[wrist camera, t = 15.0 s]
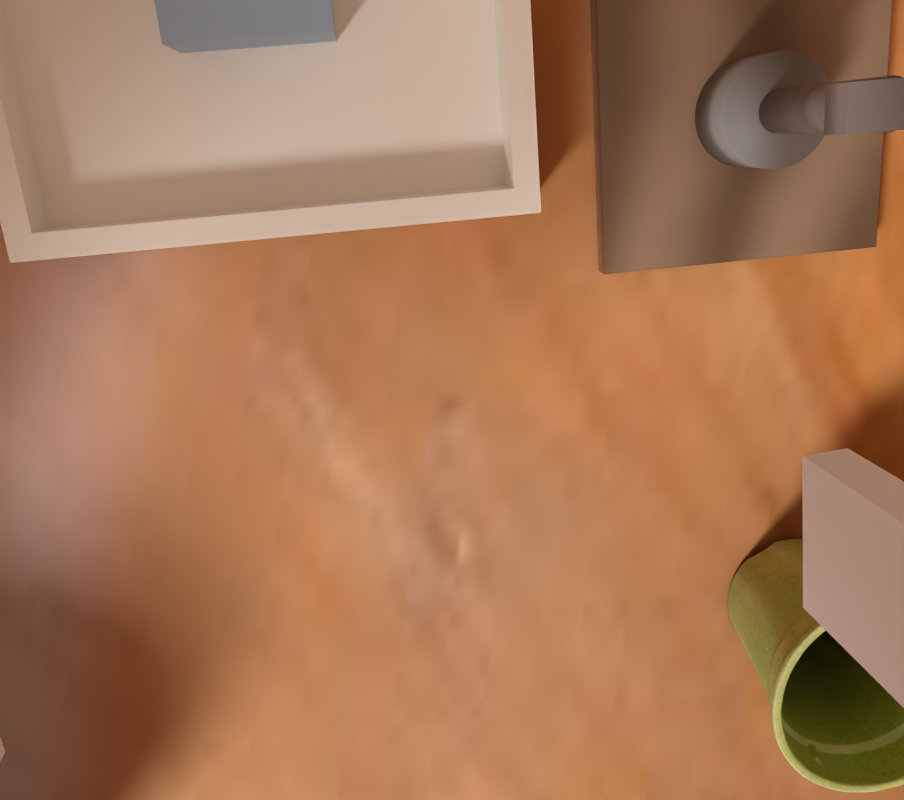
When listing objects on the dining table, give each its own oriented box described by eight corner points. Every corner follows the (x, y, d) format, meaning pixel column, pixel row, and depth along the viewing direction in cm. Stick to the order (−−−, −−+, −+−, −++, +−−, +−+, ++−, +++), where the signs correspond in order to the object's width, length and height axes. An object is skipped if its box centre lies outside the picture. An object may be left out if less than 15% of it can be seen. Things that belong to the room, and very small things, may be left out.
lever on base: (598, 270, 37) (707, 331, 26) (589, -35, 34) (710, -124, 22) (863, 244, 38) (1083, 291, 27) (881, -56, 35) (1145, -153, 23)
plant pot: (720, 493, 41) (812, 583, 33) (898, 516, 42) (1028, 607, 34) (673, 662, 44) (746, 784, 35) (842, 679, 45) (951, 800, 37)
